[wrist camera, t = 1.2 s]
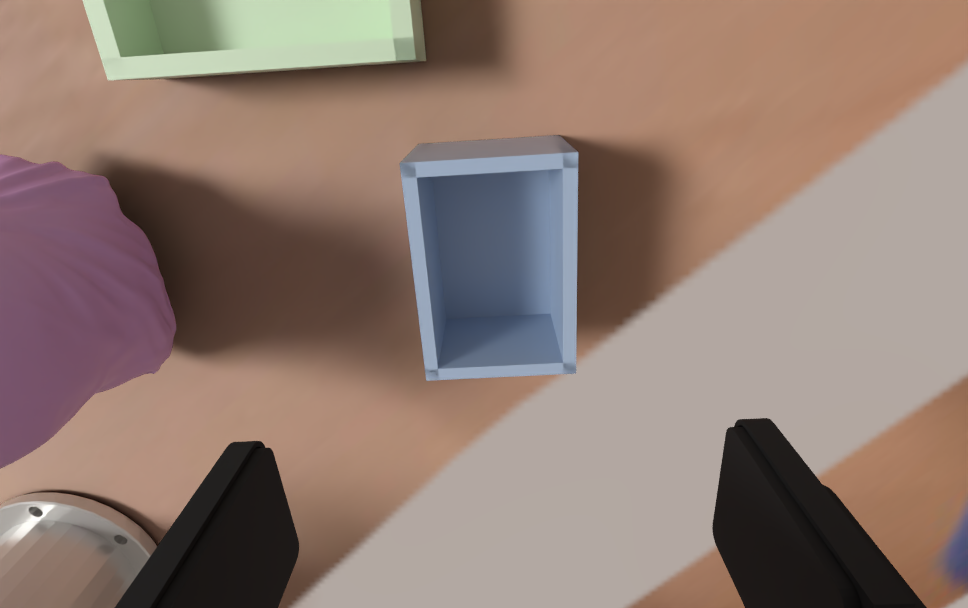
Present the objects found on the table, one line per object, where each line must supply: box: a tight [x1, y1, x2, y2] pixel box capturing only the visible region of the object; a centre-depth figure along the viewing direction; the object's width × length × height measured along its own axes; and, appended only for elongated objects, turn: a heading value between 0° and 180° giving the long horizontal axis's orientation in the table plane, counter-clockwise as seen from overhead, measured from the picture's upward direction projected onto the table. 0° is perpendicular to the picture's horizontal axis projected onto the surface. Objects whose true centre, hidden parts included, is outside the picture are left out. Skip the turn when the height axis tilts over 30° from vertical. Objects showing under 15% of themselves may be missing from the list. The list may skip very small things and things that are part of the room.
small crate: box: [400, 135, 578, 381], centre depth 25 cm, size 10×7×6 cm
